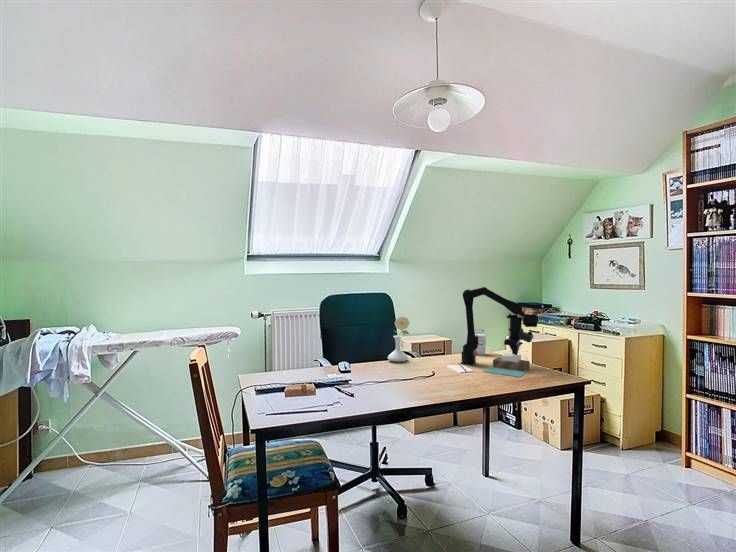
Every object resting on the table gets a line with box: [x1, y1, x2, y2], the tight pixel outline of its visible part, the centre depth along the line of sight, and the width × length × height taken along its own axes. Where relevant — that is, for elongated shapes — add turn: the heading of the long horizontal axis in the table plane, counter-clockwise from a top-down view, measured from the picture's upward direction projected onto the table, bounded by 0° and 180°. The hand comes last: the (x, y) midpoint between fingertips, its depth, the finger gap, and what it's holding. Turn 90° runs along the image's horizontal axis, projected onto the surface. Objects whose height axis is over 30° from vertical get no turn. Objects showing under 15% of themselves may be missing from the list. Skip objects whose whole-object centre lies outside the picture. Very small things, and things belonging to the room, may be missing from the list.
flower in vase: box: [387, 316, 410, 363], centre depth 237 cm, size 13×11×25 cm
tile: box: [501, 353, 522, 362], centre depth 220 cm, size 8×6×2 cm
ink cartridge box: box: [474, 328, 487, 356], centre depth 253 cm, size 9×5×15 cm, turn 84°
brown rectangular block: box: [492, 356, 530, 372], centre depth 220 cm, size 16×8×4 cm, turn 53°
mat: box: [482, 366, 527, 378], centre depth 212 cm, size 18×11×1 cm, turn 53°
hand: (515, 356), depth 225 cm, fingers closed
